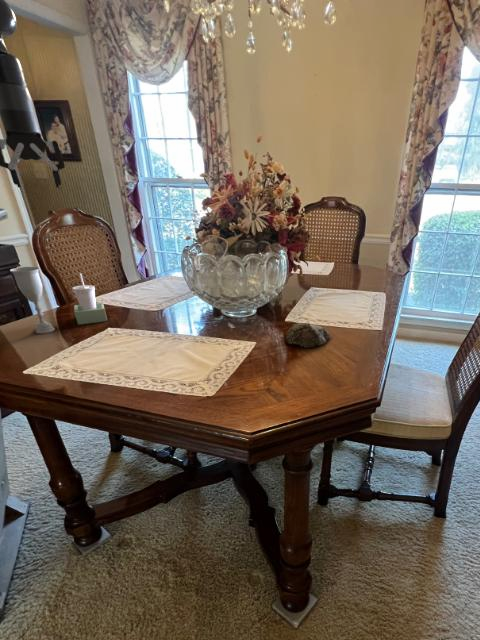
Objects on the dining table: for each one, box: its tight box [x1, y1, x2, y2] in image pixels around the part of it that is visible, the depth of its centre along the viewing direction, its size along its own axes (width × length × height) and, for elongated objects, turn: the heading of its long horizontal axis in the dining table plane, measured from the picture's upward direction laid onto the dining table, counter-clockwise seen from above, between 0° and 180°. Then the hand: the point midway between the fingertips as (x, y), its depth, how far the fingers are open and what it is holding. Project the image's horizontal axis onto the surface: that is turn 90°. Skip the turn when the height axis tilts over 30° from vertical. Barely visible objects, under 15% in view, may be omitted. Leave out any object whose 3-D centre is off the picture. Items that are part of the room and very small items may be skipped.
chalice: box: [9, 266, 56, 334], centre depth 111 cm, size 7×7×18 cm
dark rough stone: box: [285, 322, 330, 349], centre depth 109 cm, size 13×12×5 cm
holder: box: [73, 301, 108, 326], centre depth 124 cm, size 9×9×4 cm
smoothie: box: [72, 272, 97, 311], centre depth 121 cm, size 6×6×14 cm
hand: (39, 187), depth 99 cm, fingers open, 8 cm apart
